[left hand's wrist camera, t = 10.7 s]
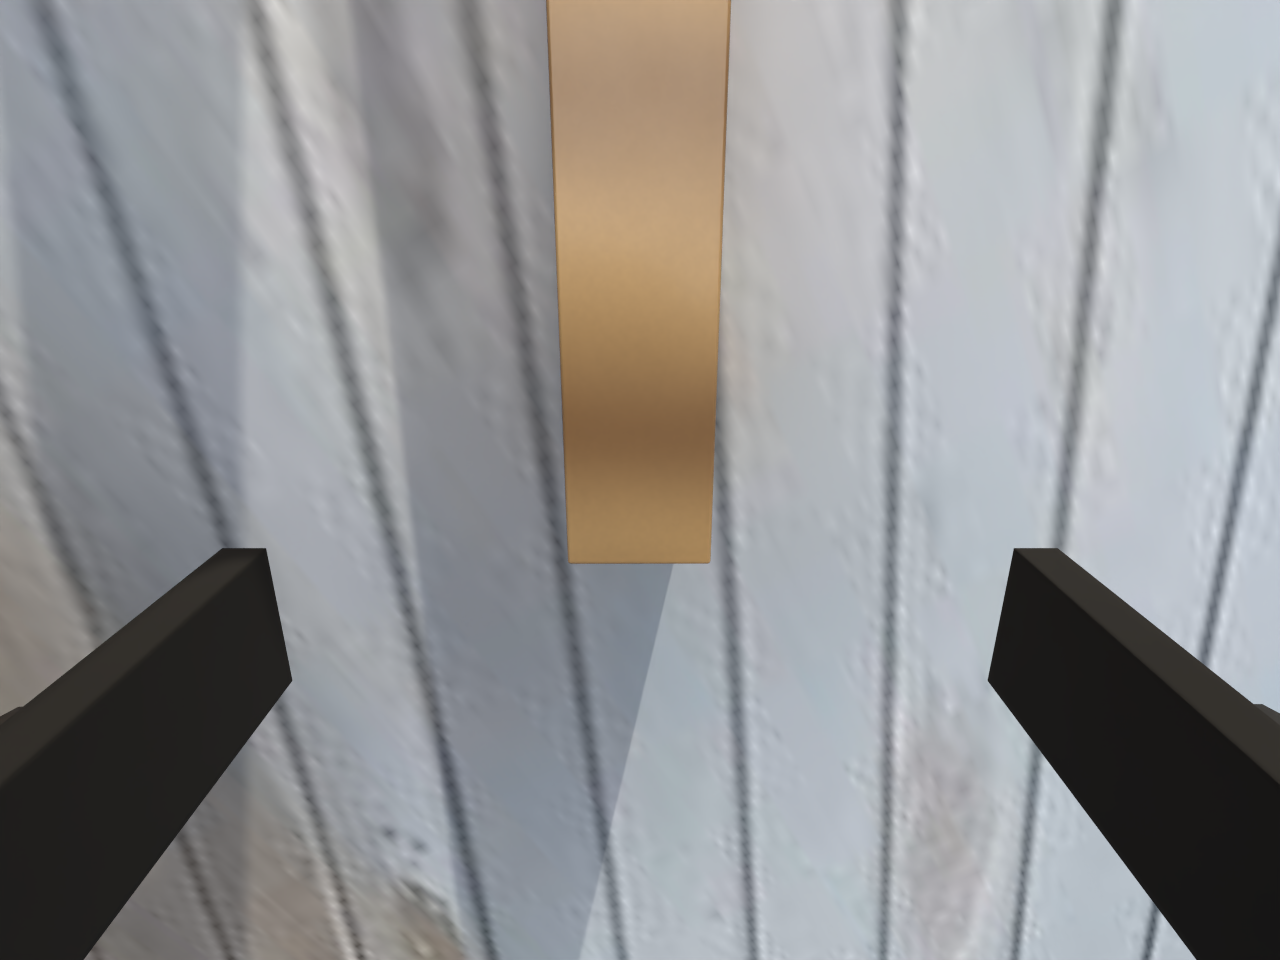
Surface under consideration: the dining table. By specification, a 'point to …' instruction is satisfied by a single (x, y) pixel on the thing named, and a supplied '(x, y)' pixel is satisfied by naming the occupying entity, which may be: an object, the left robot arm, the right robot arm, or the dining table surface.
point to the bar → (638, 269)
